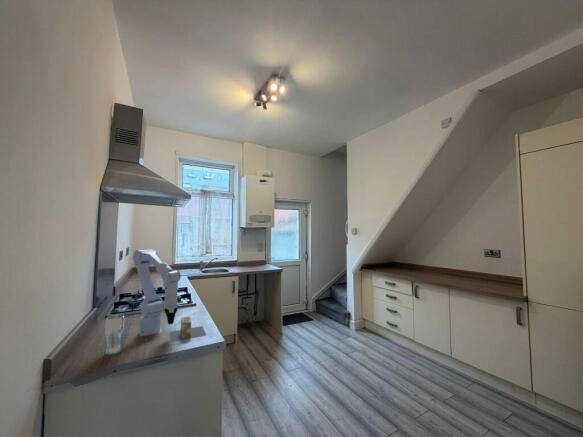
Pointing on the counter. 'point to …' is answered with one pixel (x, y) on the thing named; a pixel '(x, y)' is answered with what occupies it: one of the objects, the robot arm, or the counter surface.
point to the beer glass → (114, 333)
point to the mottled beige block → (185, 327)
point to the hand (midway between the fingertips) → (170, 323)
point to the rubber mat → (194, 333)
